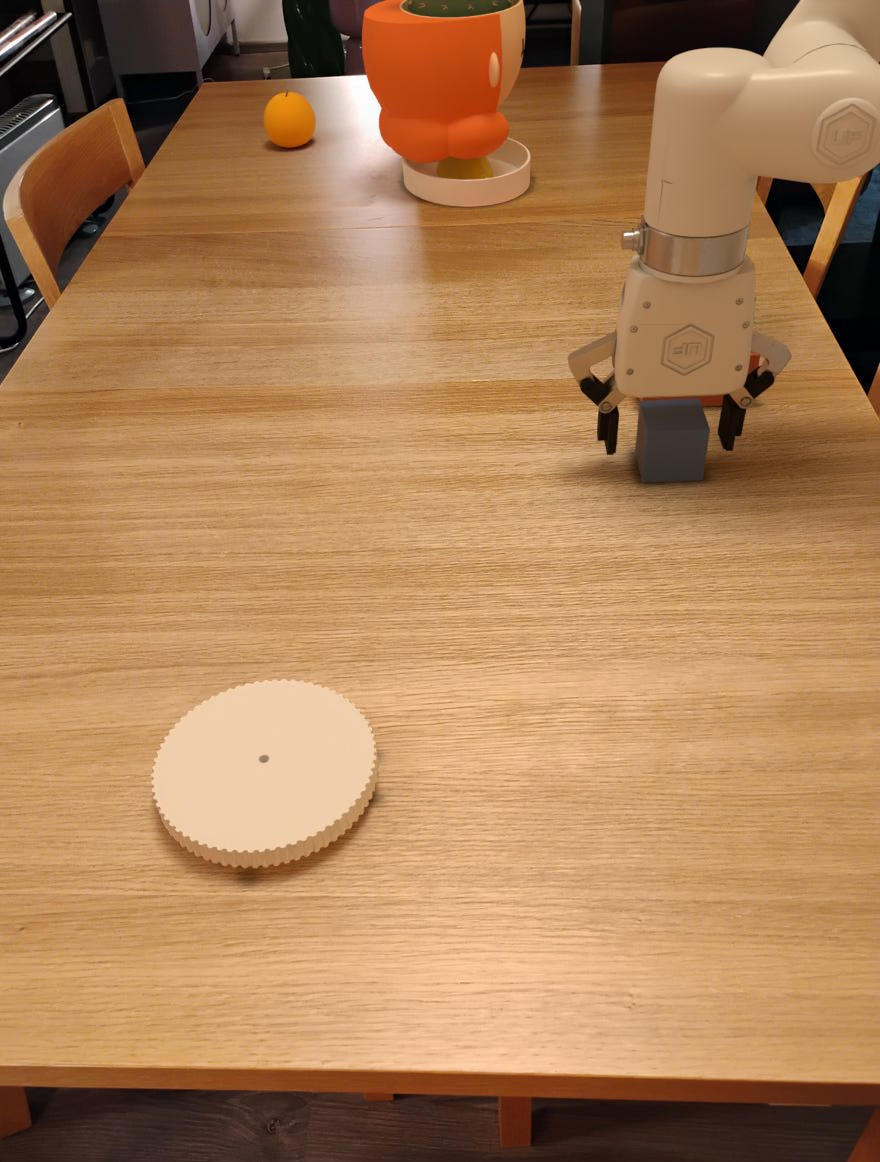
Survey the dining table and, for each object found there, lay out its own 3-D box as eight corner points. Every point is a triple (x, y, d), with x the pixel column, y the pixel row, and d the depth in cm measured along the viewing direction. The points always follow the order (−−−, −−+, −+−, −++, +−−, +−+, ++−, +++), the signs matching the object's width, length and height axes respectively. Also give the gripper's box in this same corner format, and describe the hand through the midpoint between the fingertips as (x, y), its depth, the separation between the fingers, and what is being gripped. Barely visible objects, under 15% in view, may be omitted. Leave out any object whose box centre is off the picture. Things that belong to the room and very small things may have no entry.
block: (692, 448, 90) (699, 397, 86) (702, 481, 86) (710, 429, 83) (634, 451, 90) (639, 400, 87) (642, 483, 87) (647, 431, 83)
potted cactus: (489, 146, 153) (483, -146, 130) (557, 192, 137) (565, -132, 114) (353, 175, 149) (322, -123, 125) (407, 225, 133) (384, -105, 109)
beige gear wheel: (288, 675, 73) (282, 649, 71) (425, 781, 65) (423, 754, 63) (118, 788, 66) (108, 762, 64) (248, 921, 58) (240, 896, 56)
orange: (257, 149, 161) (249, 97, 156) (289, 134, 165) (282, 82, 160) (296, 155, 157) (289, 102, 152) (328, 139, 162) (322, 87, 157)
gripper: (578, 269, 73) (567, 472, 85) (827, 259, 72) (781, 466, 83) (570, 229, 79) (560, 424, 90) (801, 218, 77) (761, 418, 89)
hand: (666, 444), depth 87 cm, fingers open, 9 cm apart
